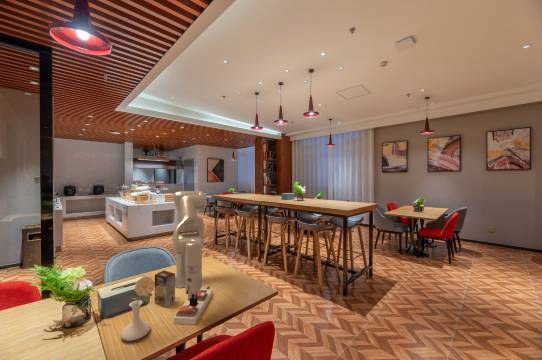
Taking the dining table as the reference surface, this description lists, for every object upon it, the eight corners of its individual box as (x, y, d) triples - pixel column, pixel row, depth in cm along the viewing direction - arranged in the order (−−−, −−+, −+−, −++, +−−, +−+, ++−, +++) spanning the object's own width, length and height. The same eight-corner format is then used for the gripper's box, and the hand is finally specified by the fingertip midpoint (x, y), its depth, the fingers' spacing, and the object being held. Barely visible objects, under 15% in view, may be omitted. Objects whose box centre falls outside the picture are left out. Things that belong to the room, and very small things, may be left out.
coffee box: (153, 303, 127) (153, 274, 127) (163, 298, 133) (163, 269, 133) (166, 308, 124) (166, 277, 123) (175, 302, 129) (175, 273, 129)
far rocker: (190, 296, 126) (190, 293, 126) (193, 292, 131) (194, 289, 131) (202, 299, 126) (203, 296, 126) (205, 295, 130) (206, 292, 130)
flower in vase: (118, 346, 96) (118, 285, 95) (123, 329, 106) (123, 274, 105) (154, 338, 101) (154, 280, 100) (155, 322, 111) (155, 270, 111)
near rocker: (178, 314, 112) (177, 311, 112) (182, 309, 117) (181, 306, 117) (192, 312, 112) (192, 308, 112) (196, 307, 116) (195, 303, 116)
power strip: (173, 323, 111) (173, 315, 111) (200, 287, 147) (200, 280, 147) (194, 324, 110) (194, 316, 110) (216, 287, 146) (216, 281, 146)
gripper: (195, 274, 106) (195, 314, 106) (206, 262, 121) (206, 297, 121) (179, 273, 106) (179, 314, 107) (192, 261, 121) (191, 297, 122)
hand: (193, 305), depth 114 cm, fingers closed
